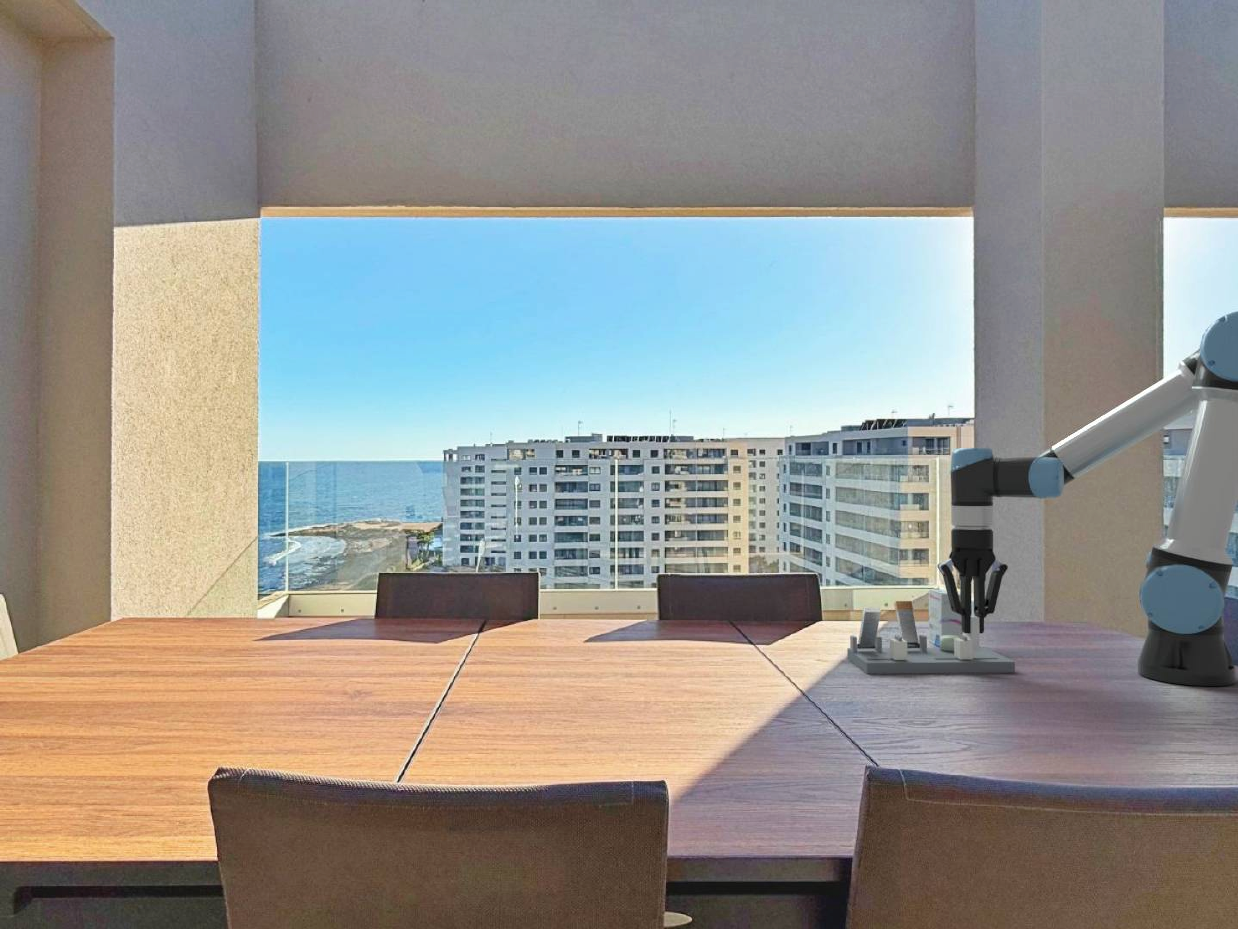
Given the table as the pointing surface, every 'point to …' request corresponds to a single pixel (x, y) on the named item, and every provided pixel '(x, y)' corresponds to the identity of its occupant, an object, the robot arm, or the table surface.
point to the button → (947, 642)
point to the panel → (925, 660)
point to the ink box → (942, 617)
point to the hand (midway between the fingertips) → (972, 650)
